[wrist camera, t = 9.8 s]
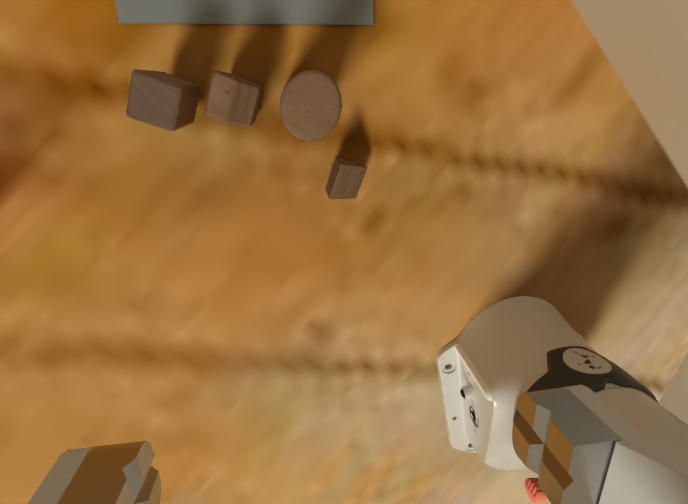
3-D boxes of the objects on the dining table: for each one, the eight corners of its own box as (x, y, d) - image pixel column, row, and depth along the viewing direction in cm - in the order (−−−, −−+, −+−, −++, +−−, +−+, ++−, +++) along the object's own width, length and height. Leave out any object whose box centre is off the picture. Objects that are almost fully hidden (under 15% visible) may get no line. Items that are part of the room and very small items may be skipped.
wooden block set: (156, 130, 32) (103, 149, 23) (175, 20, 29) (123, -10, 20) (352, 193, 37) (374, 230, 27) (385, 103, 34) (423, 111, 25)
